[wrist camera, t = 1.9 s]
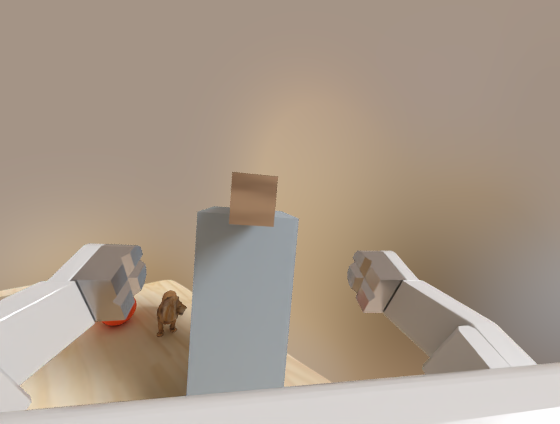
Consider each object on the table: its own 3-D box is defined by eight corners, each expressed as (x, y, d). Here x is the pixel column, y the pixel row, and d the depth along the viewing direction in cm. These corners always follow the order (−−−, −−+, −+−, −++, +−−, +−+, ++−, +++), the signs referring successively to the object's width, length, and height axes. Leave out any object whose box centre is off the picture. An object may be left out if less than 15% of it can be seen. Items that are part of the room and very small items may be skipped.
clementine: (103, 339, 44) (104, 305, 43) (84, 328, 46) (85, 296, 46) (142, 320, 51) (143, 291, 51) (124, 311, 54) (125, 284, 53)
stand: (279, 436, 28) (298, 218, 27) (183, 445, 27) (197, 211, 25) (269, 361, 41) (281, 211, 40) (204, 364, 39) (214, 206, 38)
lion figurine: (186, 339, 46) (188, 298, 45) (157, 347, 43) (159, 303, 42) (175, 307, 58) (177, 274, 57) (152, 312, 55) (154, 277, 54)
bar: (273, 226, 17) (277, 176, 17) (228, 224, 17) (232, 172, 16) (258, 209, 39) (260, 187, 39) (239, 208, 38) (240, 185, 38)
